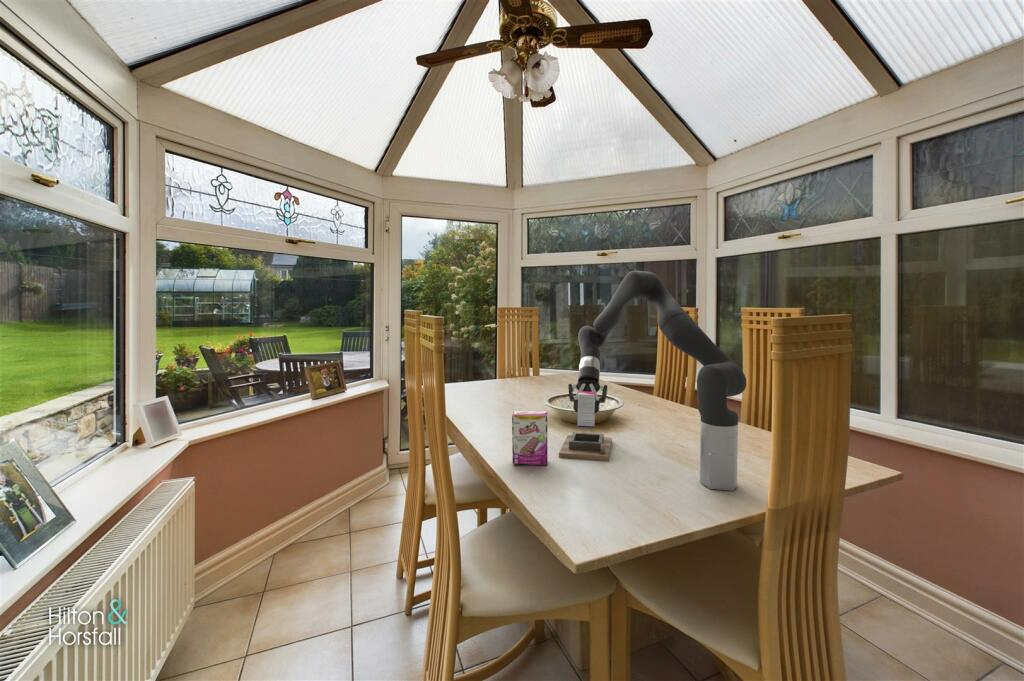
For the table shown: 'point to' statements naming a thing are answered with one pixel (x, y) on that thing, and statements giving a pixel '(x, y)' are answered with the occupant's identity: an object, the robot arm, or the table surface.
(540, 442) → the candy bar box
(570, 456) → the nest plate
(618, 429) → the table surface
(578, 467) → the table surface
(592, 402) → the supplement box
